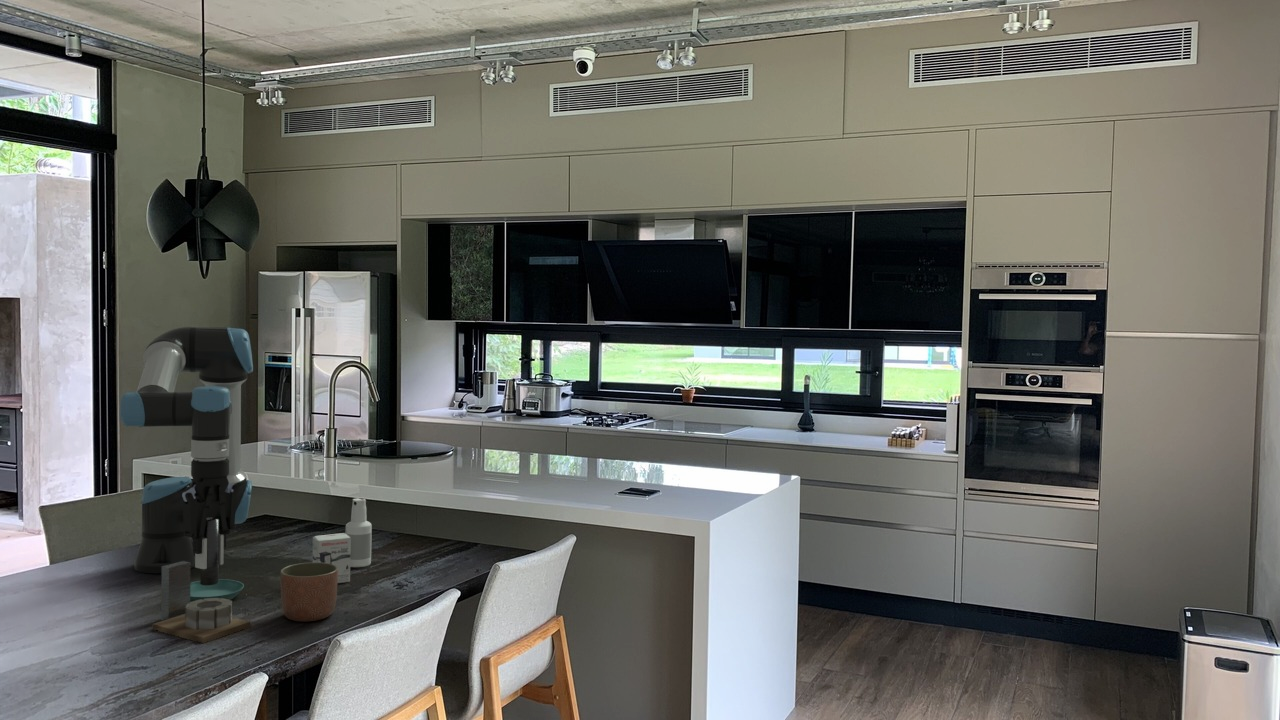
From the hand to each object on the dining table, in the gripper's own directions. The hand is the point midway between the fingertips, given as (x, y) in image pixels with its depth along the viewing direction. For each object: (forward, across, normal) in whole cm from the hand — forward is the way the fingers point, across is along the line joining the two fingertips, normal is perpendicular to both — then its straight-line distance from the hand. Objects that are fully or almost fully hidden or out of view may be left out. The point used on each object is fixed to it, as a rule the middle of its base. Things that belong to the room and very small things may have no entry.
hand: (209, 565), depth 208 cm
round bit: (+4, 0, 0) cm, 4 cm away
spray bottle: (+14, +56, +10) cm, 59 cm away
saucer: (+14, +15, +18) cm, 28 cm away
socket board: (+14, -1, +1) cm, 14 cm away
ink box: (+14, +40, +4) cm, 43 cm away
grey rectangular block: (+14, +1, +12) cm, 18 cm away
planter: (+14, +17, -12) cm, 25 cm away
